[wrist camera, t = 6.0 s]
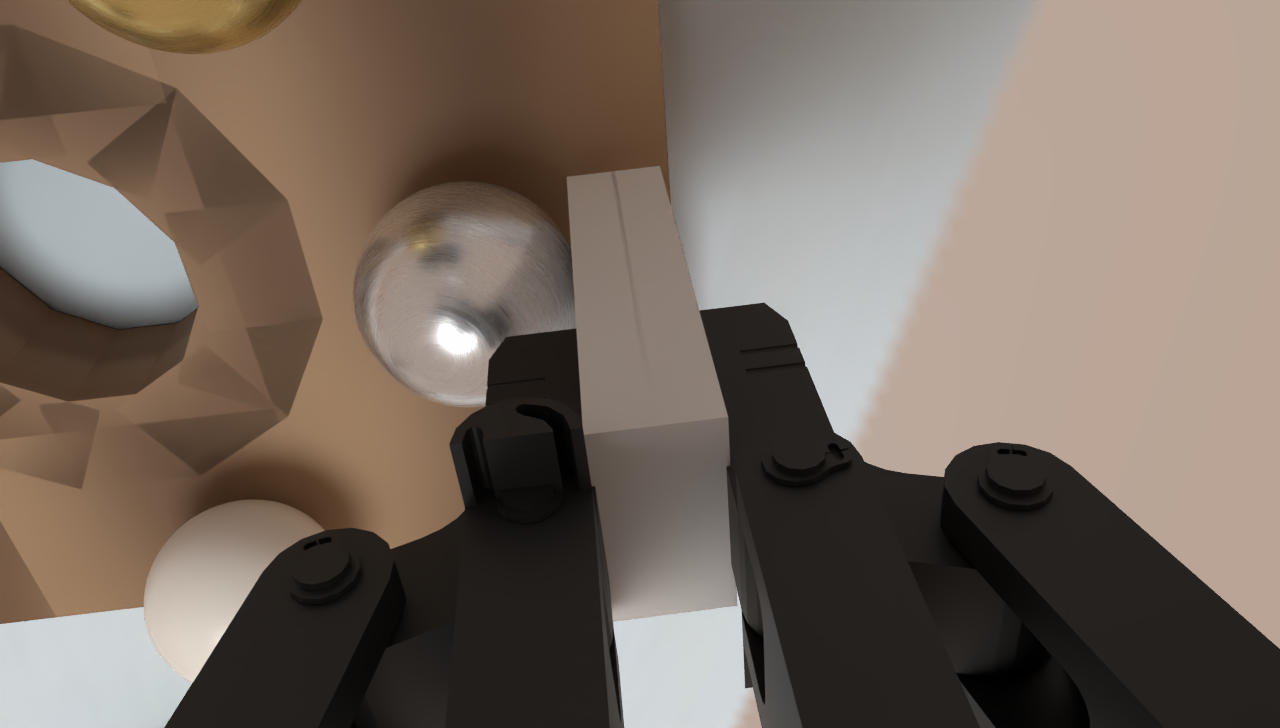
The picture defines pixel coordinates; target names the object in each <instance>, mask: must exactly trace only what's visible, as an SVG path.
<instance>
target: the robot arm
mask: <svg viewBox="0 0 1280 728" xmlns="http://www.w3.org/2000/svg"><path fill="white" fill-rule="evenodd" d="M567 190H568V205H569V221H570V237H571V252H572V268H573V284H574V299H575V315H576V328H575V329H567V330H559V331H550V332H542V333H534V334H526V335H517V336H509V337H505V339H504V340H503V342H502V343H501V344H500V346H499V347H498V348H497V350H496V351H495V352H494V354H493V355H492V356H491V358H490V359H489V364H488V378H487V388H488V389H487V391H486V407H484V408H482V409H480V410H478V411H476V412H474V413H472V414H471V415H470V416H469V417H468V418H466V419H465V420H464V421H463V422H462V423H461V424H460V425H459V426H458V427H457V428H456V429H455V432H454V434H453V436H452V439H451V441H450V444H449V446H450V450H451V454H452V458H453V462H454V466H455V470H456V474H457V478H458V482H459V486H460V490H461V494H462V498H463V502H464V506H465V511H464V512H463V513H462V514H461V515H460V516H459V517H458V518H457V519H455V520H454V521H452V522H451V523H449V524H448V525H446V526H445V527H443V528H442V529H440V530H438V531H436V532H433V533H431V534H429V535H427V536H425V537H423V538H420V539H417V540H414V541H412V542H409V543H406V544H403V545H401V546H398V547H395V548H393V549H390V547H389V544H388V543H387V542H386V541H385V540H383V539H382V538H381V537H379V536H378V535H377V534H375V533H374V532H371V531H366V530H361V529H356V528H342V529H332V530H325V531H323V532H320V533H317V534H314V535H311V536H308V537H306V538H303V539H301V540H299V541H298V542H296V543H294V544H293V545H291V546H290V547H288V548H287V549H285V550H284V551H282V552H281V553H279V554H278V555H277V556H276V557H275V559H274V560H273V561H272V562H271V563H270V564H269V565H268V566H267V567H266V569H265V570H264V571H263V572H262V574H261V575H260V577H259V578H258V580H257V582H256V583H255V585H254V586H253V588H252V589H251V591H250V593H249V594H248V596H247V597H246V599H245V601H244V602H243V604H242V605H241V607H240V609H239V610H238V612H237V613H236V615H235V616H234V618H233V620H232V621H231V623H230V624H229V626H228V628H227V629H226V631H225V632H224V634H223V636H222V637H221V639H220V640H219V642H218V643H217V645H216V647H215V648H214V650H213V651H212V653H211V655H210V656H209V658H208V659H207V661H206V663H205V664H204V666H203V667H202V669H201V670H200V672H199V674H198V675H197V677H196V678H195V680H194V682H193V683H192V685H191V686H190V688H189V690H188V691H187V693H186V694H185V696H184V697H183V699H182V701H181V702H180V704H179V705H178V707H177V709H176V710H175V712H174V713H173V715H172V717H171V718H170V720H169V721H168V723H167V724H166V726H165V728H624V721H623V710H622V698H621V687H620V675H619V664H618V656H617V649H616V642H615V636H614V629H613V621H621V620H629V619H637V618H645V617H652V616H660V615H668V614H676V613H683V612H691V611H698V610H706V609H714V608H722V607H730V606H737V592H736V587H737V591H738V596H739V600H740V604H741V609H742V624H743V647H744V670H745V688H751V687H753V689H754V694H755V698H756V703H757V707H758V712H759V716H760V721H761V725H762V728H1280V649H1279V648H1278V647H1277V646H1276V645H1274V644H1273V643H1272V642H1271V641H1270V640H1269V639H1267V638H1266V637H1265V636H1264V635H1263V634H1262V633H1261V632H1260V631H1258V630H1257V629H1256V628H1255V627H1254V626H1253V625H1252V624H1251V623H1249V622H1248V621H1247V620H1246V619H1245V618H1244V617H1243V616H1241V615H1240V614H1239V613H1238V612H1237V611H1236V610H1234V609H1233V608H1232V607H1231V606H1230V605H1229V604H1228V603H1227V602H1225V601H1224V600H1223V599H1222V598H1221V597H1220V596H1219V595H1217V594H1216V593H1215V592H1214V591H1213V590H1212V589H1211V588H1209V587H1208V586H1207V585H1206V584H1205V583H1204V582H1202V581H1201V580H1200V579H1199V578H1198V577H1197V576H1196V575H1195V574H1194V573H1192V572H1191V571H1190V570H1189V569H1188V568H1187V567H1186V566H1184V565H1183V564H1182V563H1181V562H1180V561H1178V560H1177V559H1176V558H1175V557H1174V556H1173V555H1172V554H1171V553H1170V552H1168V551H1167V550H1166V549H1165V548H1164V547H1163V546H1161V545H1160V544H1159V543H1158V542H1157V541H1156V540H1155V539H1153V538H1152V537H1151V536H1150V535H1149V534H1148V533H1147V532H1146V531H1144V530H1143V529H1142V528H1141V527H1140V526H1139V525H1138V524H1136V523H1135V522H1134V521H1133V520H1132V519H1131V518H1130V517H1128V516H1127V515H1126V514H1125V513H1124V512H1123V511H1122V510H1120V509H1119V508H1118V507H1117V506H1116V505H1115V504H1114V503H1112V502H1111V501H1110V500H1109V499H1108V498H1107V497H1106V496H1104V495H1103V494H1102V493H1101V492H1100V491H1099V490H1098V489H1097V488H1095V487H1094V486H1093V485H1092V484H1091V483H1090V482H1088V481H1087V480H1086V479H1085V478H1084V477H1083V476H1082V475H1080V474H1079V473H1078V472H1077V471H1076V470H1075V469H1074V468H1073V467H1071V466H1070V465H1068V464H1067V463H1065V462H1063V461H1062V460H1060V459H1059V458H1057V457H1055V456H1054V455H1053V454H1051V453H1049V452H1046V451H1042V450H1039V449H1036V448H1033V447H1030V446H1027V445H1022V444H1011V443H1000V442H998V443H991V444H984V445H978V446H973V447H971V448H969V449H967V450H965V451H963V452H961V453H959V454H958V455H956V456H955V457H954V458H953V460H952V461H951V462H950V464H949V465H948V466H947V468H946V469H945V476H944V477H936V476H926V475H917V474H907V473H901V472H895V471H889V470H885V469H882V468H879V467H876V466H873V465H871V464H868V463H866V462H864V460H863V458H862V456H861V455H860V454H859V452H858V451H857V450H856V448H855V447H854V446H853V445H852V443H851V442H849V441H848V440H846V439H844V438H842V437H841V436H839V435H837V434H836V433H834V431H833V429H832V426H831V424H830V422H829V419H828V417H827V414H826V412H825V410H824V407H823V405H822V402H821V400H820V397H819V395H818V393H817V390H816V388H815V385H814V383H813V381H812V378H811V376H810V373H809V371H808V368H807V367H805V361H804V359H803V356H802V354H801V352H800V349H799V348H798V347H797V342H796V339H795V337H794V335H793V332H792V330H791V327H790V325H789V323H788V321H787V320H786V319H785V318H783V317H782V316H781V315H780V314H778V313H777V312H776V311H774V310H773V309H772V308H770V307H769V306H768V305H766V304H765V303H759V304H750V305H742V306H734V307H726V308H717V309H709V310H701V311H699V308H698V304H697V301H696V297H695V293H694V290H693V286H692V282H691V279H690V275H689V271H688V268H687V264H686V260H685V257H684V253H683V249H682V246H681V242H680V238H679V235H678V231H677V227H676V224H675V220H674V216H673V213H672V209H671V205H670V202H669V198H668V194H667V191H666V187H665V183H664V180H663V176H662V172H661V168H660V166H654V167H645V168H637V169H628V170H620V171H612V172H603V173H595V174H586V175H578V176H569V177H567Z"/></svg>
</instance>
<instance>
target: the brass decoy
mask: <svg viewBox="0 0 1280 728" xmlns="http://www.w3.org/2000/svg"><path fill="white" fill-rule="evenodd" d="M67 1H68V2H69V3H70V4H71V5H72V6H73V7H74V8H75V9H77V10H78V11H79V12H80V13H82V14H83V15H84V16H86V17H87V18H88V19H90V20H91V21H92V22H94V23H95V24H97V25H99V26H100V27H102V28H104V29H105V30H107V31H109V32H110V33H112V34H114V35H116V36H118V37H121V38H123V39H125V40H127V41H129V42H132V43H135V44H138V45H141V46H144V47H147V48H151V49H155V50H160V51H165V52H170V53H180V54H211V53H217V52H222V51H227V50H231V49H235V48H238V47H241V46H244V45H247V44H249V43H251V42H253V41H255V40H257V39H260V38H262V37H263V36H265V35H266V34H268V33H269V32H271V31H272V30H273V29H275V28H276V27H278V26H279V25H280V24H281V23H282V22H283V21H284V20H285V19H287V18H288V17H289V16H290V15H291V14H292V13H293V12H294V10H295V9H296V8H297V6H298V5H299V4H300V3H301V1H302V0H67Z"/></svg>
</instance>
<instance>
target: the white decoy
mask: <svg viewBox="0 0 1280 728" xmlns="http://www.w3.org/2000/svg"><path fill="white" fill-rule="evenodd" d="M323 531H325V530H324V529H323V528H322V527H321V526H320V525H319V524H318V523H317V522H316V521H315V520H314V519H312V518H311V517H309V516H308V515H306V514H305V513H303V512H301V511H299V510H297V509H295V508H293V507H291V506H288V505H285V504H282V503H279V502H274V501H268V500H254V499H249V500H238V501H232V502H228V503H224V504H221V505H218V506H215V507H212V508H210V509H207V510H205V511H204V512H202V513H200V514H198V515H197V516H195V517H193V518H191V519H190V520H189V521H187V522H186V523H185V524H183V525H182V526H181V527H180V528H179V529H178V530H176V531H175V532H174V534H173V535H172V536H171V537H170V538H169V539H168V540H167V542H166V543H165V544H164V545H163V547H162V548H161V550H160V551H159V553H158V555H157V556H156V558H155V560H154V562H153V564H152V567H151V569H150V572H149V575H148V577H147V581H146V586H145V592H144V617H145V622H146V626H147V630H148V634H149V636H150V639H151V641H152V643H153V645H154V647H155V649H156V650H157V652H158V653H159V655H160V656H161V657H162V658H163V660H164V661H165V662H166V663H167V664H168V665H169V667H170V668H172V669H173V670H174V671H175V672H176V673H178V674H179V675H180V676H182V677H183V678H185V679H187V680H188V681H190V682H192V683H193V682H194V680H195V678H196V677H197V675H198V674H199V672H200V670H201V669H202V667H203V666H204V664H205V663H206V661H207V659H208V658H209V656H210V655H211V653H212V651H213V650H214V648H215V647H216V645H217V643H218V642H219V640H220V639H221V637H222V636H223V634H224V632H225V631H226V629H227V628H228V626H229V624H230V623H231V621H232V620H233V618H234V616H235V615H236V613H237V612H238V610H239V609H240V607H241V605H242V604H243V602H244V601H245V599H246V597H247V596H248V594H249V593H250V591H251V589H252V588H253V586H254V585H255V583H256V582H257V580H258V578H259V577H260V575H261V574H262V572H263V571H264V570H265V569H266V567H267V566H268V565H269V564H270V563H271V562H272V561H273V560H274V559H275V557H276V556H277V555H278V554H279V553H281V552H282V551H284V550H285V549H287V548H288V547H290V546H291V545H293V544H294V543H296V542H298V541H299V540H301V539H303V538H306V537H308V536H311V535H314V534H317V533H320V532H323Z"/></svg>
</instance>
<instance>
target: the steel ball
mask: <svg viewBox="0 0 1280 728" xmlns="http://www.w3.org/2000/svg"><path fill="white" fill-rule="evenodd" d="M353 306H354V312H355V317H356V321H357V326H358V328H359V331H360V334H361V337H362V339H363V340H364V342H365V344H366V346H367V348H368V350H369V352H370V354H371V355H372V357H373V358H374V360H375V361H376V362H377V364H378V365H379V366H380V367H381V368H382V369H383V371H385V372H386V373H387V374H388V375H389V376H390V377H391V378H392V379H393V380H394V381H396V382H397V383H398V384H400V385H401V386H402V387H404V388H405V389H407V390H408V391H410V392H412V393H414V394H416V395H418V396H420V397H422V398H424V399H427V400H429V401H432V402H436V403H440V404H443V405H448V406H454V407H466V408H467V407H482V406H486V391H487V389H488V388H487V378H488V364H489V359H490V358H491V356H492V355H493V354H494V352H495V351H496V350H497V348H498V347H499V346H500V344H501V343H502V342H503V340H504V339H505V337H509V336H517V335H526V334H534V333H542V332H550V331H559V330H567V329H575V328H576V315H575V299H574V284H573V268H572V252H571V247H570V245H569V243H568V241H567V239H566V237H565V236H564V234H563V233H562V231H561V230H560V228H559V227H558V226H557V225H556V224H555V222H554V221H553V220H552V219H551V218H550V217H549V216H548V215H547V214H546V213H545V212H544V211H543V210H542V209H541V208H540V207H538V206H537V205H536V204H534V203H533V202H532V201H530V200H529V199H527V198H525V197H523V196H522V195H520V194H518V193H516V192H514V191H511V190H509V189H507V188H504V187H500V186H497V185H493V184H488V183H482V182H470V181H458V182H448V183H444V184H439V185H435V186H431V187H429V188H426V189H423V190H420V191H418V192H416V193H414V194H413V195H411V196H409V197H407V198H405V199H404V200H402V201H401V202H399V203H398V204H397V205H395V206H394V207H393V208H392V209H390V210H389V211H388V212H387V213H386V215H385V216H384V217H383V218H382V219H381V220H380V221H379V222H378V223H377V224H376V225H375V227H374V228H373V230H372V231H371V233H370V234H369V236H368V238H367V240H366V241H365V243H364V245H363V248H362V250H361V252H360V255H359V258H358V261H357V265H356V269H355V273H354V282H353Z"/></svg>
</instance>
